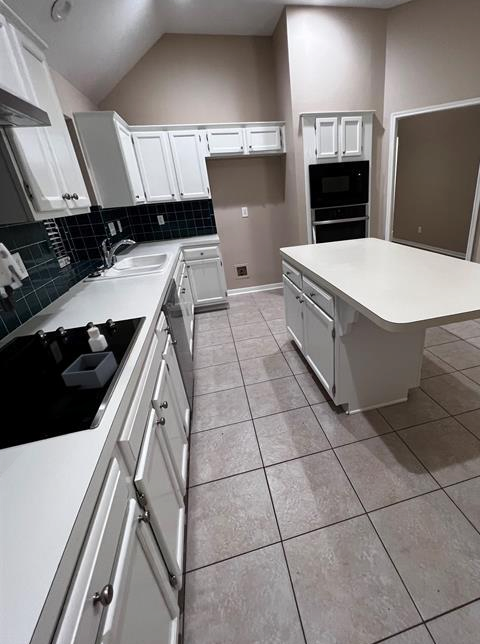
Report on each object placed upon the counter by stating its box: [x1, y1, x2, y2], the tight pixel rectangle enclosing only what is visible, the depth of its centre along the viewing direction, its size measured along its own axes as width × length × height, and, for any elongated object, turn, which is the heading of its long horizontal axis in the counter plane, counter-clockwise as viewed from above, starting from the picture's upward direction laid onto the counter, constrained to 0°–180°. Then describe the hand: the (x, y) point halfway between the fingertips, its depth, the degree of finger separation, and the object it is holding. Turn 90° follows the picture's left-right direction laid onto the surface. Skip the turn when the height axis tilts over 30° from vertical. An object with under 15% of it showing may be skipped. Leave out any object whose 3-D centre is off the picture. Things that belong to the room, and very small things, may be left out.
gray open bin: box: [60, 351, 119, 391], centre depth 99 cm, size 6×11×10 cm
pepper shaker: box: [87, 327, 108, 353], centre depth 113 cm, size 4×4×10 cm
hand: (11, 310), depth 84 cm, fingers closed
